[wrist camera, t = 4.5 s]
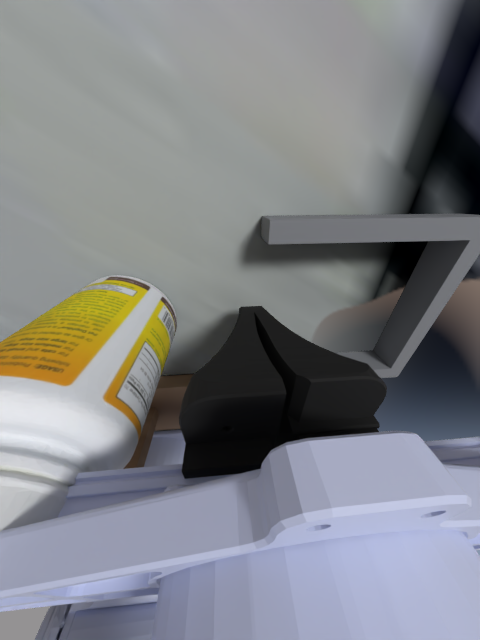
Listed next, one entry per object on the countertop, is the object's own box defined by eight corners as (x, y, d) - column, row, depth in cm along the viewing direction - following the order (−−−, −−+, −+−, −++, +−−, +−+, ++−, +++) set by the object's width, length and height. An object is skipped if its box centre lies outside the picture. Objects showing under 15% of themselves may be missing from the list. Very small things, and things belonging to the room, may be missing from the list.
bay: (262, 216, 10) (270, 219, 8) (458, 213, 10) (504, 216, 9) (254, 366, 16) (258, 386, 14) (379, 358, 16) (397, 376, 15)
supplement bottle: (67, 307, 12) (-362, 610, 3) (125, 251, 10) (-395, 536, 2) (142, 357, 14) (23, 594, 6) (197, 319, 13) (145, 562, 4)
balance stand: (202, 414, 19) (195, 486, 14) (120, 421, 18) (85, 497, 14) (194, 374, 16) (182, 449, 11) (93, 380, 15) (36, 461, 10)
